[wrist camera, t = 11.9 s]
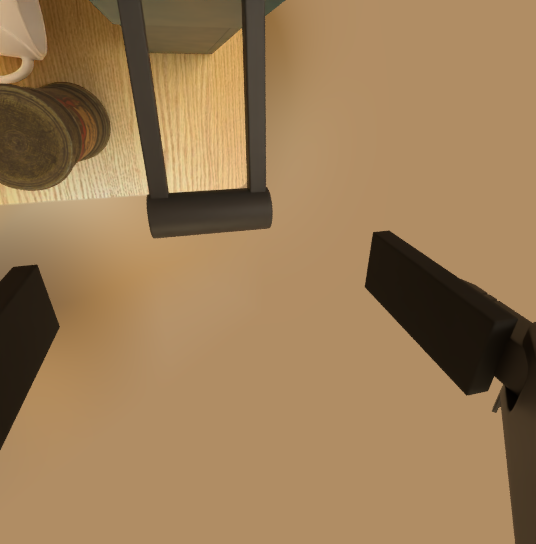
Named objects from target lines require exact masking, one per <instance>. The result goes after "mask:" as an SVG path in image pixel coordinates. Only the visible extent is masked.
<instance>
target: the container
mask: <svg viewBox="0 0 536 544" xmlns="http://www.w3.org/2000/svg"><path fill="white" fill-rule="evenodd" d="M109 136H110V121H109V118H108V115H107V112H106V110H105V108H104V107H103V105H102V104H101V102H100V101H99V100H98V99H97V98H96V97H95V96H94V95H93V94H92V93H91V92H89V91H88V90H86V89H84V88H83V87H80V86H78V85H75V84H71V83H66V82H58V83H52V84H48V85H45V86H43V87H40V88H28V87H20V86H17V85H12V84H0V183H1V184H3V185H5V186H8V187H11V188H15V189H20V190H28V191H36V190H44V189H48V188H51V187H53V186H55V185H57V184H59V183H60V182H62V181H63V180H64V179H65V178H66V177H67V176H68V175H69V173H70V172H71V170H72V168H73V167H74V166H75V164H76V163H77V162H79V161H82V160H86V159H89V158H91V157H94V156H96V155H97V154H99V153H100V152H101V151H102V150H103V149H104V147H105V146H106V144H107V142H108V140H109Z"/></svg>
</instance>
